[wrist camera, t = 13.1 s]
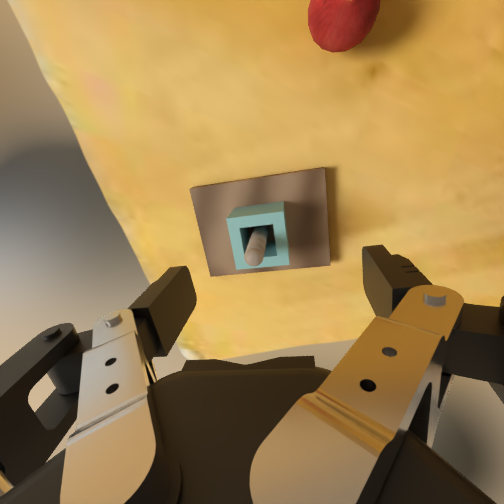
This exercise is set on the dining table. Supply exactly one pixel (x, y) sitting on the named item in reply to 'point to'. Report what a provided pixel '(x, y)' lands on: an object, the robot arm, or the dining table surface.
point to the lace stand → (297, 221)
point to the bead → (259, 216)
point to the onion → (341, 22)
